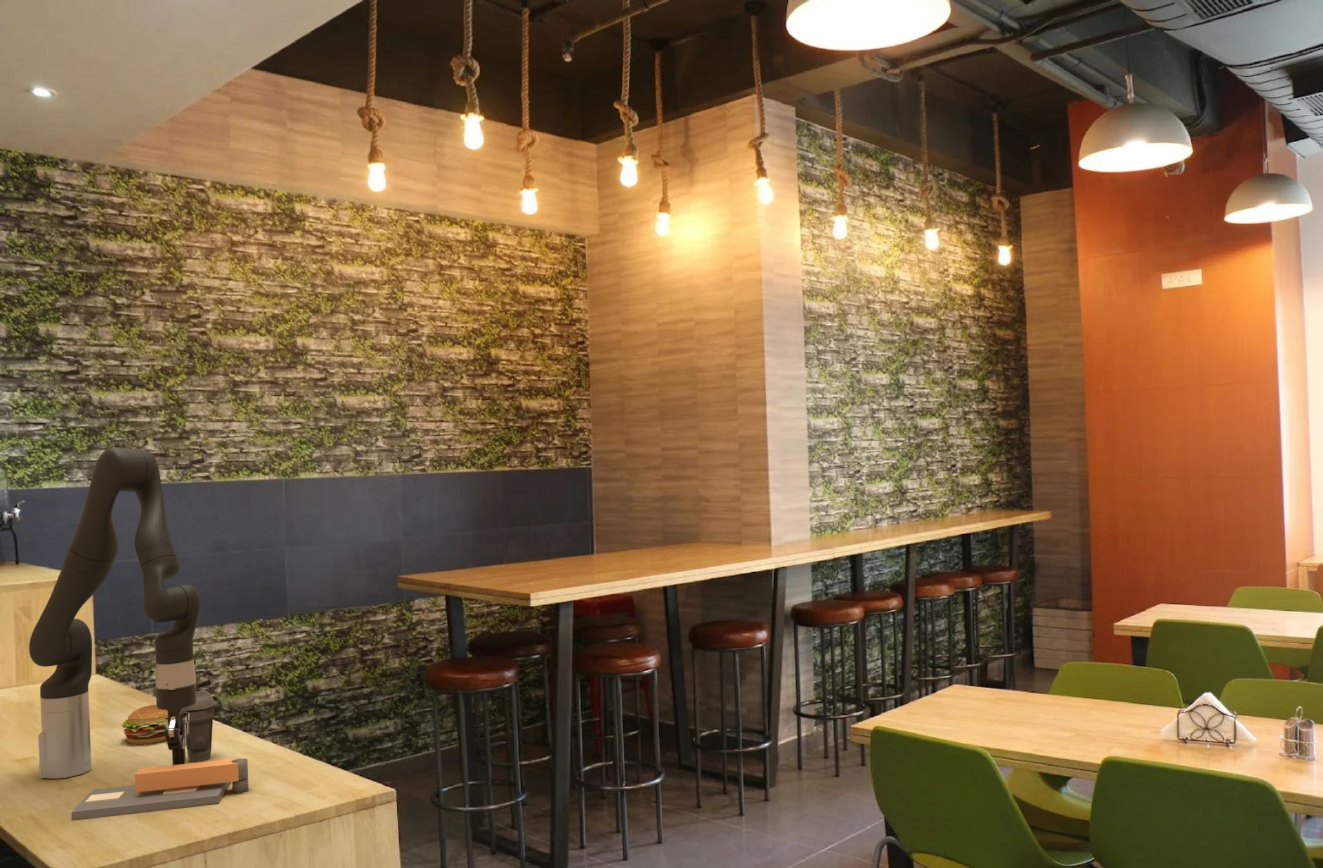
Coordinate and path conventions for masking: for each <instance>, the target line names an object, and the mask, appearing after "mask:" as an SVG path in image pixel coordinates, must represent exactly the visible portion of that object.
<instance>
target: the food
mask: <svg viewBox="0 0 1323 868" xmlns="http://www.w3.org/2000/svg"><path fill="white" fill-rule="evenodd" d="M127 717H128V718H126V719H125V720H124V721H123V722H122V724H121V727H122V729H123V733H124V736H125V737H126V742H127V743H129V744H131V745H132V744H133V745H150V744H156V743H157V744H158V743H162V742H167V741H166V737H165V733H164V731H165V729H167V727H166V726H165V718H168V711H167V710H161V709H158V708H157V704H150V705H146V706H142V707H139V708H136V709H135V710H133V711H132V712H131V713H130V714H129V715H128V716H127Z"/></svg>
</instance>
